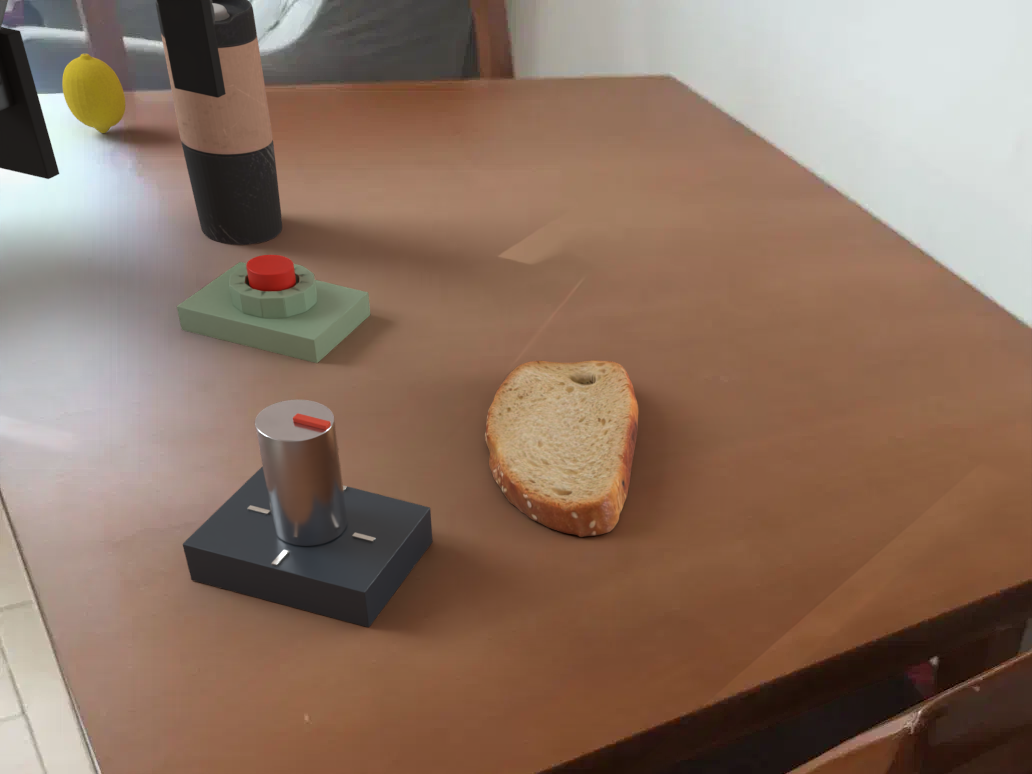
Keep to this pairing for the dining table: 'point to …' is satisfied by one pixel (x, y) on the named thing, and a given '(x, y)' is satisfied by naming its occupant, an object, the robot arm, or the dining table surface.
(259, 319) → the button block
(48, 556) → the dining table surface
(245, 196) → the travel mug
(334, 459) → the metal dial knob
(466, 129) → the dining table surface
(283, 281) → the button
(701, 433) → the dining table surface
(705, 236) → the dining table surface
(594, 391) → the slice of bread
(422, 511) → the panel
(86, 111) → the lemon
